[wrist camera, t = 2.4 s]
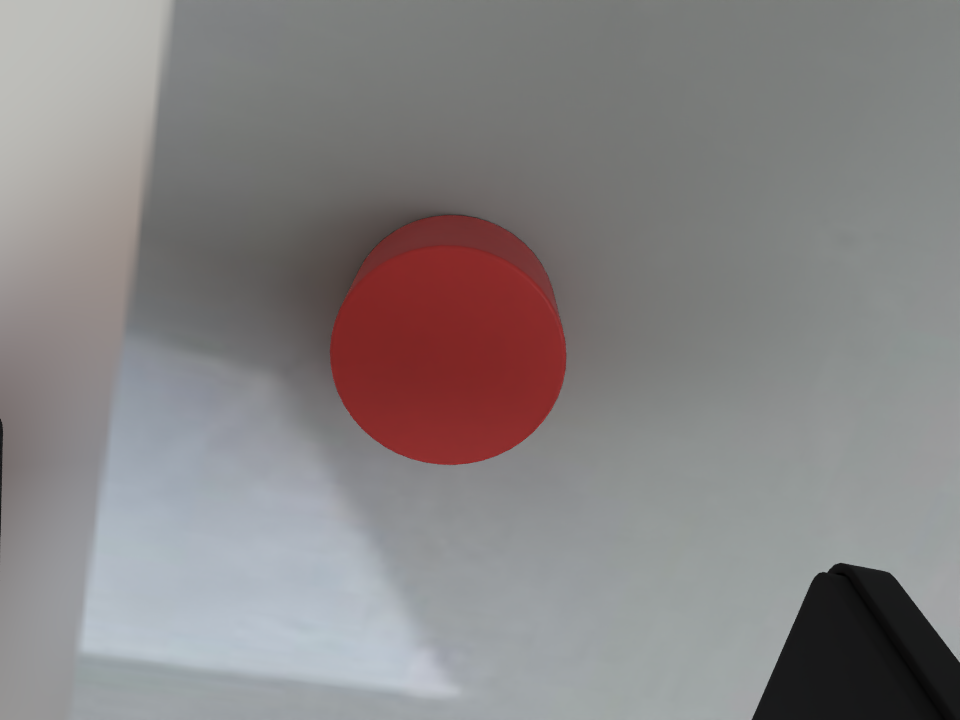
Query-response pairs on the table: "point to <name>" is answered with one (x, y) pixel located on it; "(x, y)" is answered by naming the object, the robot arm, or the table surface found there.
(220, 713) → the table surface
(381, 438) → the cylinder
